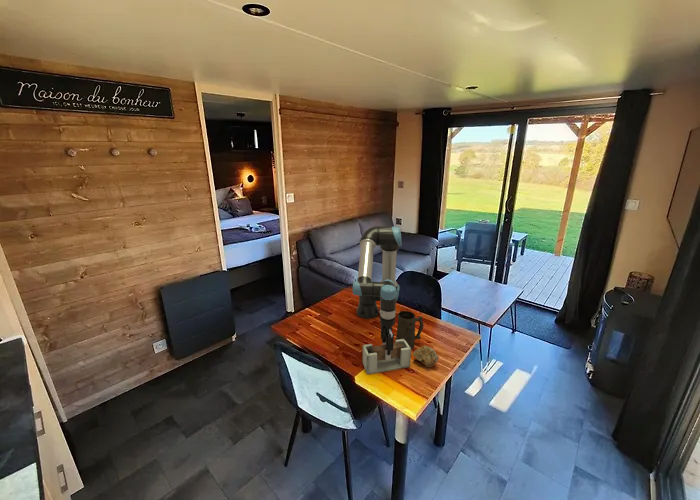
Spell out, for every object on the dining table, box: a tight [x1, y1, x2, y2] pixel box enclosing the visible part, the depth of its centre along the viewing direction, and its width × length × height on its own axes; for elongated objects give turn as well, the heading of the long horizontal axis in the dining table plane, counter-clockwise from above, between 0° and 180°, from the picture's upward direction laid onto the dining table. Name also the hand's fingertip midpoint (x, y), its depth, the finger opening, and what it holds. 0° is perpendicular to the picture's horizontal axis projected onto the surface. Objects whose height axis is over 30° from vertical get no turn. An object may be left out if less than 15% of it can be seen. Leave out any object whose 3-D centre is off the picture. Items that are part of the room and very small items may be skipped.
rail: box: [368, 342, 404, 361], centre depth 153 cm, size 18×4×6 cm, turn 103°
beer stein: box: [395, 310, 424, 350], centre depth 170 cm, size 15×11×20 cm
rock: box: [412, 345, 440, 368], centre depth 155 cm, size 12×10×10 cm
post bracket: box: [361, 339, 412, 376], centre depth 154 cm, size 9×23×11 cm, turn 103°
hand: (386, 356), depth 154 cm, fingers closed on rail, 4 cm apart
